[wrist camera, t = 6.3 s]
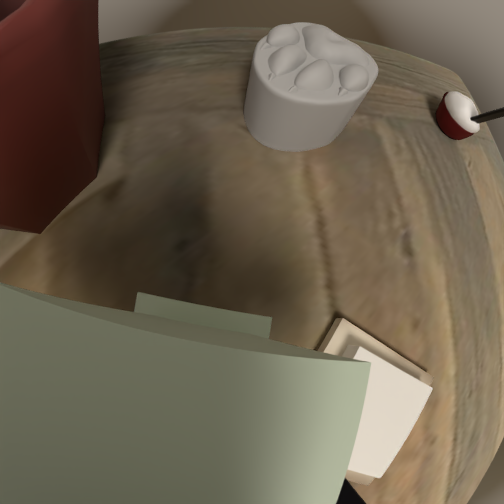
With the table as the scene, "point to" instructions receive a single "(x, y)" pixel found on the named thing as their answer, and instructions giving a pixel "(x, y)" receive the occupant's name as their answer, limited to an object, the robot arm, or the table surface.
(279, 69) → the white paw print block
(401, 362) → the ash base slab
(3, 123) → the bucket
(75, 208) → the table surface
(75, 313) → the sage pillar
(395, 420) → the whitewashed top slab
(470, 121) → the cocoa
